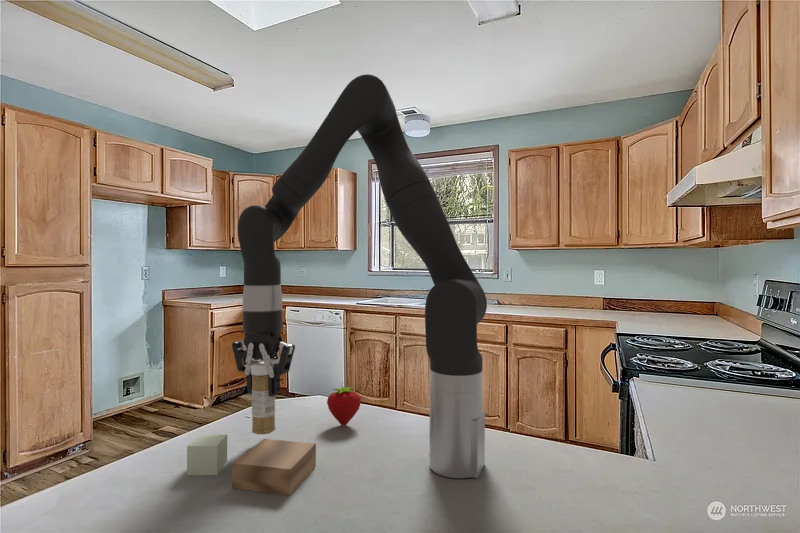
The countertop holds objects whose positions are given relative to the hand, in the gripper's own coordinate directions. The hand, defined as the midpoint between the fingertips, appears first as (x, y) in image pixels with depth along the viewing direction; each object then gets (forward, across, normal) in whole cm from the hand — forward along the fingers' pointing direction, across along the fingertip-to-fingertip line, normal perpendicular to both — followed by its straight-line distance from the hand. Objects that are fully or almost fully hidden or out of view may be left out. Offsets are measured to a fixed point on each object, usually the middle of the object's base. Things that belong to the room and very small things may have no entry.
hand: (263, 393), depth 87 cm
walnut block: (+10, -10, +10) cm, 18 cm away
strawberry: (+10, -10, -15) cm, 21 cm away
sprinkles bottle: (+8, 0, 0) cm, 8 cm away
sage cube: (+10, +2, +12) cm, 16 cm away
